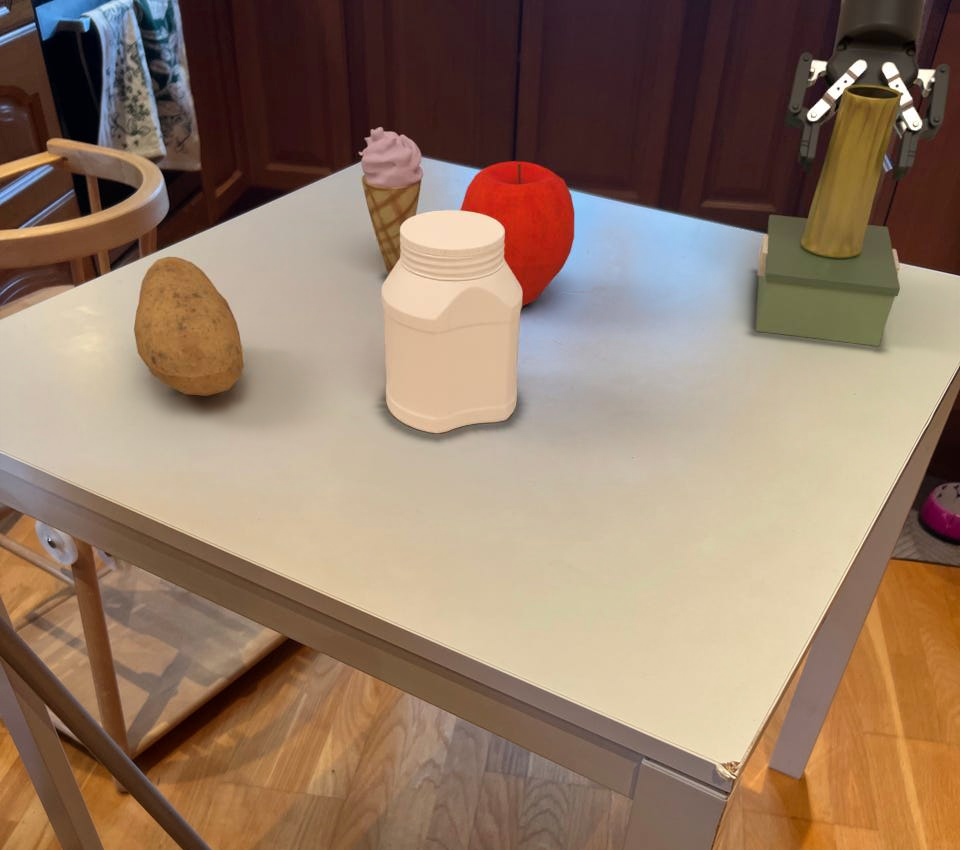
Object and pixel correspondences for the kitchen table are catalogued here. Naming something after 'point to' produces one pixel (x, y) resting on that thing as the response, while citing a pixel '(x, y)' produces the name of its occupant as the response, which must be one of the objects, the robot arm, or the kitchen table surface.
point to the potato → (187, 329)
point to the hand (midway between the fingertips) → (853, 171)
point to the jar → (451, 323)
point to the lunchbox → (825, 286)
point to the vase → (851, 171)
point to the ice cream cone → (390, 187)
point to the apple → (526, 219)
